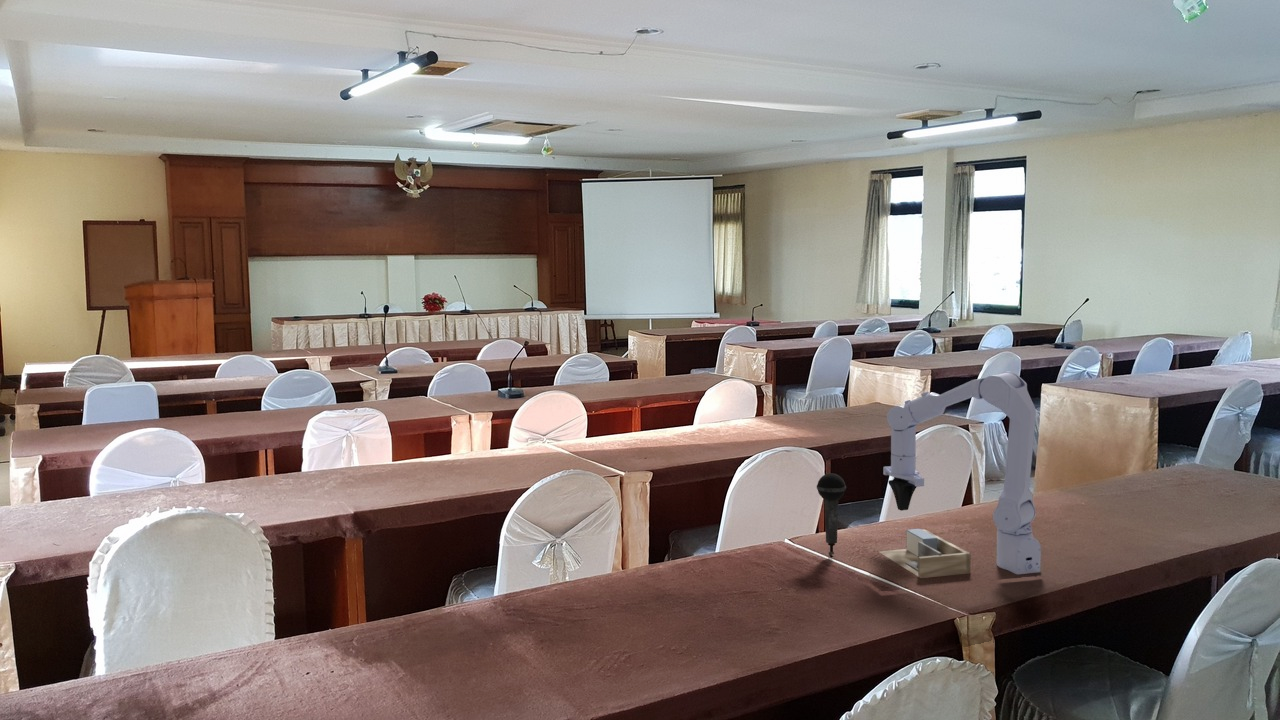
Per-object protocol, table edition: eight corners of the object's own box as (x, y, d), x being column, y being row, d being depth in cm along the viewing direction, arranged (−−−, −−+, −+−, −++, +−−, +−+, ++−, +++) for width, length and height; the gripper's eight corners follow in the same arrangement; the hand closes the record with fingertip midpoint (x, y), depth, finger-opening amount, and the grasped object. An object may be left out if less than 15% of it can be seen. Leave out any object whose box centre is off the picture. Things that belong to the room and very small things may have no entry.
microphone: (813, 558, 223) (812, 475, 221) (821, 550, 229) (821, 469, 227) (841, 562, 220) (841, 477, 218) (849, 554, 226) (849, 471, 224)
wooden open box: (970, 576, 208) (970, 551, 207) (920, 581, 205) (920, 556, 205) (924, 550, 227) (924, 527, 227) (878, 554, 225) (878, 531, 224)
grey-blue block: (937, 558, 218) (937, 537, 217) (923, 560, 217) (923, 539, 217) (919, 549, 226) (919, 528, 225) (906, 550, 225) (906, 529, 225)
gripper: (935, 458, 222) (935, 515, 224) (900, 447, 236) (900, 501, 237) (909, 461, 220) (909, 518, 222) (876, 450, 234) (875, 503, 235)
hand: (903, 509), depth 229 cm, fingers closed
